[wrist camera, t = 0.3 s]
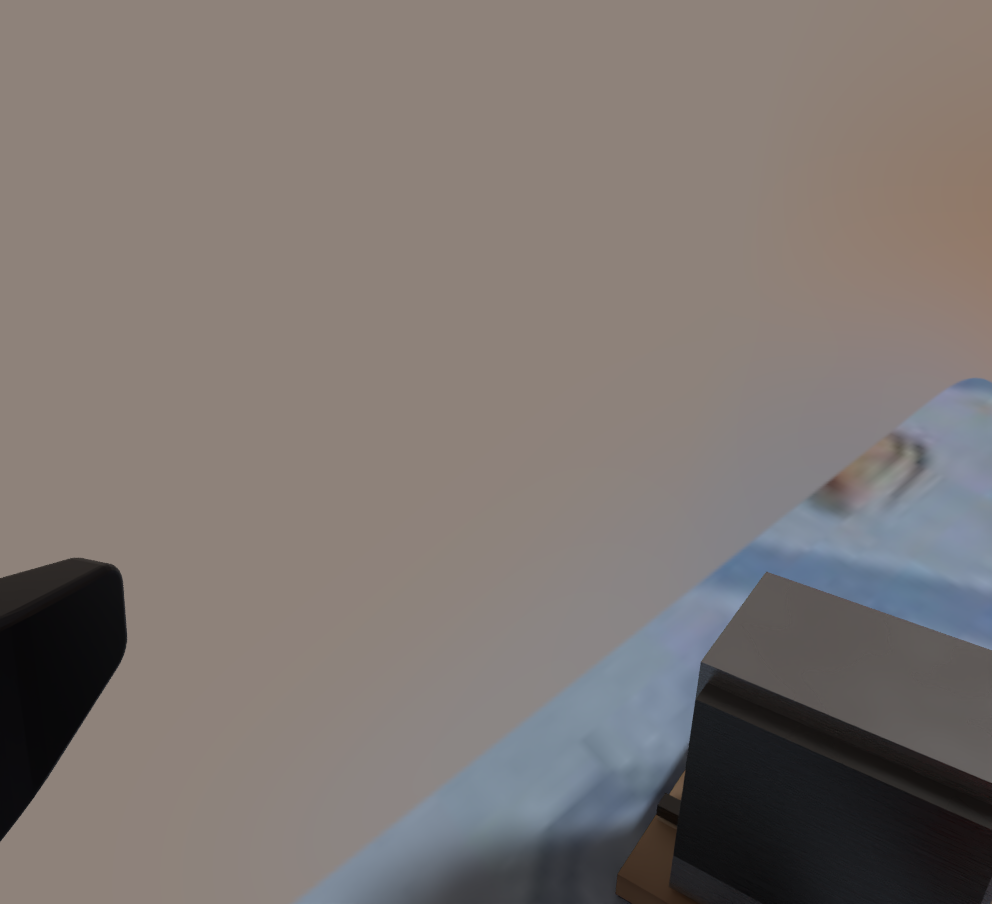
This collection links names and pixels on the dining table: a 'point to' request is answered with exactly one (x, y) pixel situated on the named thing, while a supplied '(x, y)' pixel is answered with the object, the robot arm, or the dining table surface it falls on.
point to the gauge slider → (835, 760)
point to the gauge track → (653, 864)
